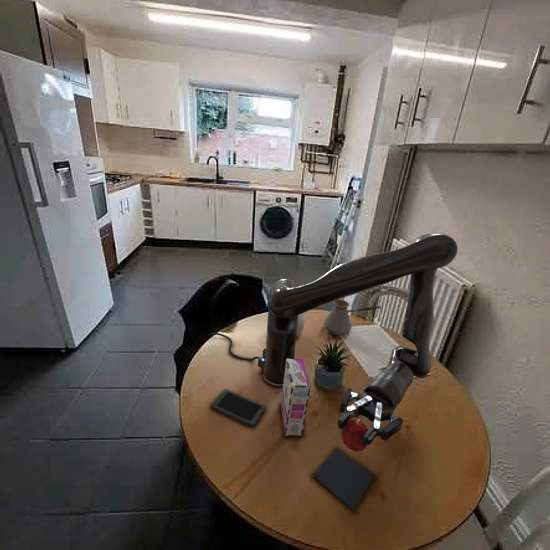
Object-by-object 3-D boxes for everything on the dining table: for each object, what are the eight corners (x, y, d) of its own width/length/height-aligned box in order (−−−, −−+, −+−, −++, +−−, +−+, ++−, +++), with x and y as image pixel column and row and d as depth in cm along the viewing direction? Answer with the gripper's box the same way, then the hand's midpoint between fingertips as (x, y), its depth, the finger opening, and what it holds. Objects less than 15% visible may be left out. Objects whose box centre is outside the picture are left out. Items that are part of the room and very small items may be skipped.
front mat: (313, 477, 71) (314, 476, 70) (336, 449, 78) (337, 448, 78) (353, 510, 65) (353, 509, 64) (373, 477, 72) (374, 476, 72)
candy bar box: (303, 436, 80) (311, 387, 74) (284, 436, 80) (290, 387, 74) (297, 403, 91) (303, 357, 84) (280, 403, 90) (285, 357, 84)
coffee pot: (320, 333, 126) (325, 301, 121) (325, 320, 136) (330, 290, 131) (374, 347, 121) (382, 313, 115) (375, 332, 131) (382, 300, 125)
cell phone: (224, 390, 93) (224, 388, 93) (265, 408, 88) (266, 406, 88) (210, 407, 87) (210, 405, 87) (253, 427, 82) (253, 425, 81)
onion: (367, 462, 65) (374, 435, 62) (339, 456, 66) (344, 429, 63) (365, 439, 70) (371, 412, 67) (339, 433, 71) (344, 407, 68)
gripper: (361, 364, 78) (324, 400, 66) (419, 395, 70) (388, 442, 58) (356, 387, 81) (320, 426, 69) (411, 419, 73) (380, 469, 61)
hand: (351, 433), depth 63 cm, fingers closed on onion, 5 cm apart
